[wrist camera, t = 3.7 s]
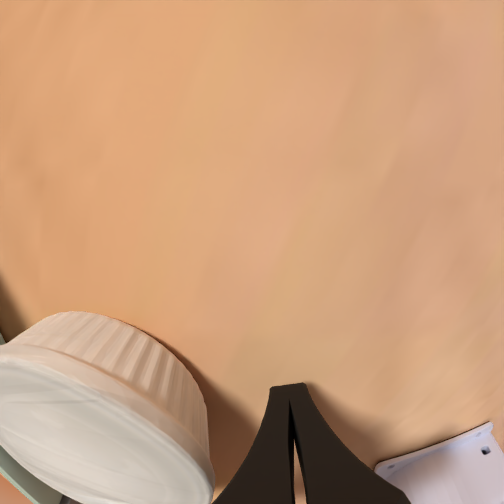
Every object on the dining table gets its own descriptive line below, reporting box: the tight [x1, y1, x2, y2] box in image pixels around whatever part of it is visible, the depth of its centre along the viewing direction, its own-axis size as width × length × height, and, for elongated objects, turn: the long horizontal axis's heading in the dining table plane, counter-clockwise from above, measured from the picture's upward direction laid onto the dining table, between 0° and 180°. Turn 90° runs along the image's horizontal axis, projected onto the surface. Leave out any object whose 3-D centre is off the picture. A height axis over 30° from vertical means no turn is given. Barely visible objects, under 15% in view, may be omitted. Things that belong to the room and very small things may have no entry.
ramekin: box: [0, 311, 215, 504], centre depth 11 cm, size 11×11×5 cm
